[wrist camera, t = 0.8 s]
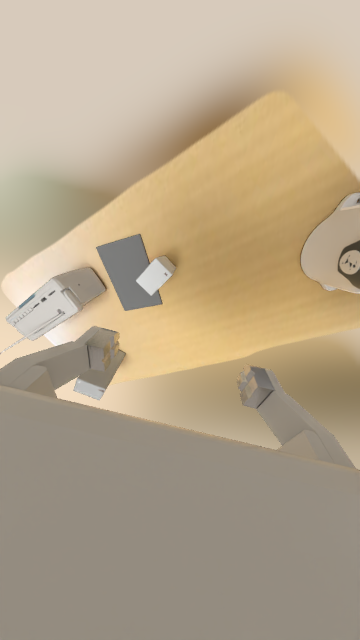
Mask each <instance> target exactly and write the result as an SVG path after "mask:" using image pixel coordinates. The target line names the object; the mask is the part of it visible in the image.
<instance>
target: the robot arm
mask: <svg viewBox="0 0 360 640" xmlns="http://www.w3.org/2000/svg"><path fill="white" fill-rule="evenodd" d="M358 199H359V202H358V203H357V200H358ZM301 266H302V269H303V271H304V273H305V274H306V275H307V276H308V277H309V278H311V279H313V280H315V281H317V282H319V283H320V284H321V286H322V287H323V288H324V289H325V290H328V291H332V290H336V289H341V290H344V291H348V292H352V293H357V294H360V193H352V194H349V195H347V196H346V197H345V198H344V199H343V200H342V201H341V203H340V204H339V205H338V207H337V208H336V210H335V211H334V212H333V213H332V214H331V215H330V216H329V217H328V218H327V219H325V220H324V221H323V222H322V223H321V224H319V225H318V226H317V227H316V229H315V230H314V231H313V232H312V233H311V235H310V236H309V238H308V239H307V241H306V243H305V245H304V247H303V250H302V254H301ZM118 339H119V333H118V332H115V331H112V330H108V329H104V328H100V327H96V326H93V327H91V328H90V329H89V330H88V331H87V332H86V333H84V334H83V335H82V336H81V337H80V338H79V339H77V340H76V341H75V342H73V341H71V342H68V343H65V344H62V345H58V346H55V347H52V348H49V349H46V350H43V351H39V352H36V353H33V354H30V355H26V356H23V357H20V358H17V359H15V360H13V361H12V362H10V363H9V364H7V365H6V366H4V367H3V368H1V369H0V640H360V470H358V469H356V468H355V466H354V465H353V463H352V462H351V460H350V459H349V457H348V456H347V454H346V453H345V452H344V450H343V448H342V447H341V445H340V444H339V442H338V441H337V440H336V438H335V437H334V435H333V434H331V433H330V432H329V431H328V430H327V429H326V428H325V427H324V426H322V425H321V424H320V423H319V422H318V421H317V420H316V419H315V418H313V416H311V415H310V414H309V413H308V412H307V411H306V410H305V409H304V408H303V407H301V406H300V405H299V404H298V403H297V402H296V401H294V399H293V398H291V397H290V396H289V395H288V394H285V392H284V390H283V389H282V387H281V385H280V383H279V381H278V380H277V378H276V376H275V374H274V373H273V371H272V370H270V369H266V368H261V367H257V366H252V365H248V364H247V365H245V366H244V368H243V369H244V371H243V372H241V373H240V374H239V376H238V379H237V385H238V388H239V389H240V391H241V394H240V396H241V400H242V404H243V405H244V406H248V407H251V408H255V409H257V411H258V412H259V414H260V415H261V417H262V418H263V419H264V421H265V422H266V423H267V425H268V426H269V428H270V429H271V430H272V432H273V433H274V435H275V436H276V437H277V439H278V440H279V442H280V443H281V445H282V446H281V447H280V448H278V449H277V450H274V449H270V448H265V447H261V446H257V445H252V444H248V443H244V442H240V441H236V440H232V439H227V438H223V437H219V436H215V435H210V434H206V433H202V432H198V431H194V430H189V429H185V428H181V427H176V426H172V425H168V424H163V423H159V422H155V421H151V420H147V419H142V418H138V417H134V416H130V415H125V414H121V413H117V412H113V411H109V410H104V409H100V408H96V407H92V406H87V405H83V404H79V403H75V402H71V401H66V400H62V399H58V398H57V396H56V393H55V390H56V389H57V388H59V387H61V386H62V385H64V384H66V383H68V382H69V381H71V380H73V379H75V378H76V377H78V376H80V375H81V374H83V373H85V372H86V371H88V370H90V369H94V370H99V371H104V372H105V371H106V369H107V368H108V366H109V365H110V363H111V359H113V358H114V357H115V356H116V354H117V352H118V350H119V342H118V341H117V340H118Z"/></svg>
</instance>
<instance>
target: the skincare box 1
mask: <svg viewBox="0 0 360 640" xmlns="http://www.w3.org/2000/svg"><path fill="white" fill-rule="evenodd" d="M125 354H126V353H124V352H122V351H120V350H118V352H117V354H116V356H115V357H114V358H113V359H111V363H110V365H109V366H108V368H107V369H106V371H105V372H104V371H99V370H94V369H90V370H88V371H86V372H85V373H83V374H81V375H80V376H79V377H78V378H77V381H76V384H75V387H74V391H76V392H79V393H82V394H84V395H87V396H89V397H92V398H94V399H97V400H100V399H101V397H102V395H103V394H104V392H105V390H106V389H107V387H108V385H109V383H110V382H111V380H112V378H113V376H114V375H115V373H116V371H117V369H118V367H119V366H120V364H121V362H122V360H123V358H124V356H125Z"/></svg>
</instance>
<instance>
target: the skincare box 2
mask: <svg viewBox="0 0 360 640" xmlns="http://www.w3.org/2000/svg"><path fill="white" fill-rule="evenodd" d="M175 269H176V267H175V266H174V265H173V264H172V263H171V262H170V261H169V259H168V258H167V257H166V256H161V257H158V258H155V259H154V260H153V261H152V262H151V263H150V265H149V266H148V267H147V268H146V269H145V271H144V272H143V273H142V274H141V275H140V276H139V277H138V279H137V280H136V282H137V283H138V284H139V285H140V286H141V287H142V288H143V289H144V290H145V291H146V292H147V293H148V294H150V295H151V296H152V295H153V294H154V293H155V292H156V291H157V290H158V289H159V288H160V287H161V286H162V285H163V284H164V283H165V282H166V281H167V280H168V279H169V278H170V277H171V276H172V275H173V273H174V271H175Z"/></svg>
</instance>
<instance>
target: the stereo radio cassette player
mask: <svg viewBox="0 0 360 640" xmlns="http://www.w3.org/2000/svg"><path fill="white" fill-rule="evenodd" d="M104 291H106V289H105V287H104V285H103V284H102V282H101V281H100V280H99V278H98V277H97V275H96V274H95V273H94V272H93V270H92V269H91V268H84V269H78V270H74V271H70V272H67V273H64V274H61V275H58V276H55V277H53V278H52V279H50V280H49V281H48V282H47V283H46V284H44V285H43V286H42V287H41V288H40V289H39V290H37V291H36V292H35V293H34V294H33V295H31V296H30V297H29V298H28V299H27V300H26V301H24V302H23V303H22V304H21V305H20V306H19V307H17V308H16V309H15V310H14V311H13V312H12V313H10V314H9V315H8V316H7V317H6V321H7V322H8V323H9V324H11V325H12V326H13V327H15V328H16V329H17V331H19V332H20V333H21V334H22V335H24V336H25V337H23V338H22V339H20V340H19V341H17V342H16V343H14V344H13V345H11V346H10V347H12V346H14V345H15V344H17V343H19V342H21V341H22V340H24V339H25V338H28V339H29V340H35V339H37V338H39V337H40V336H42V335H43V334H45V333H46V332H48V331H50V330H51V329H53V328H54V327H56V326H57V325H59V324H60V323H62V322H64V321H65V320H67V319H68V318H70V317H71V316H73V315H74V314H76V313H77V312H79V311H81V310H82V309H83V305H85V304H86V303H88V302H89V301H91V300H92V299H94V298H95V297H97V296H98V295H100V294H101V293H103V292H104ZM10 347H8V348H7V349H9V348H10ZM7 349H5V350H7ZM5 350H4V351H5ZM1 353H2V352H1ZM1 353H0V354H1Z"/></svg>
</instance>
